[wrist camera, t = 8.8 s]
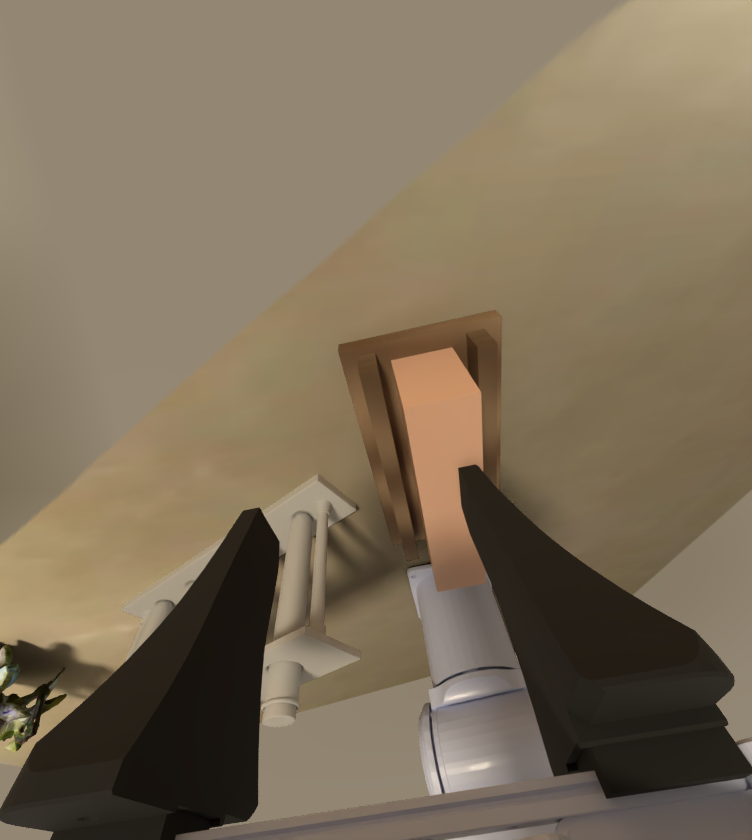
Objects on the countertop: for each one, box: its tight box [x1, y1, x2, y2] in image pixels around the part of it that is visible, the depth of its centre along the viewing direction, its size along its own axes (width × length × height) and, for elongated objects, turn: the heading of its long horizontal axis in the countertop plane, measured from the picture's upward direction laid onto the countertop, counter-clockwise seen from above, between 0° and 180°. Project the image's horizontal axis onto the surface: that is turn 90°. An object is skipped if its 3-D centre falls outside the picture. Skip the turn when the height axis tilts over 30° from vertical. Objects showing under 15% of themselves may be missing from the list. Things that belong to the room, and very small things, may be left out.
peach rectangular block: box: [391, 347, 486, 592], centre depth 22 cm, size 16×4×5 cm, turn 11°
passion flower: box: [0, 644, 67, 752], centre depth 35 cm, size 11×11×12 cm
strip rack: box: [338, 310, 502, 561], centre depth 24 cm, size 18×9×3 cm, turn 11°
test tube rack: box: [121, 474, 361, 727], centre depth 25 cm, size 25×4×13 cm, turn 128°
